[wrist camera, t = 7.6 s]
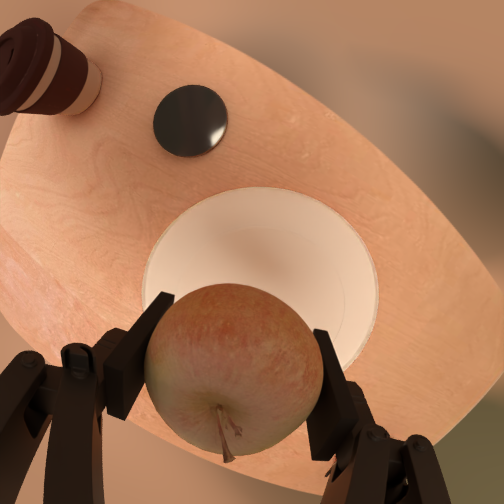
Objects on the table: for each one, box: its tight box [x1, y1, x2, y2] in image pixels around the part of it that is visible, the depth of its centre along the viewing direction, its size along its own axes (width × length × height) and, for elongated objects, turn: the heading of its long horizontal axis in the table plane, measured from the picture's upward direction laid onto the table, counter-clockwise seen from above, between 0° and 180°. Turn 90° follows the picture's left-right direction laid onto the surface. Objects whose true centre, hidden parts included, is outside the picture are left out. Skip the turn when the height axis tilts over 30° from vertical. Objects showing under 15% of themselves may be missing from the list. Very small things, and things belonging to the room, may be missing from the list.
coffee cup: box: [0, 18, 102, 116], centre depth 20 cm, size 10×10×15 cm
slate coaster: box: [153, 85, 228, 157], centre depth 28 cm, size 8×8×1 cm
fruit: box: [144, 283, 323, 463], centre depth 11 cm, size 8×7×8 cm
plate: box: [142, 187, 379, 372], centre depth 33 cm, size 28×28×1 cm
